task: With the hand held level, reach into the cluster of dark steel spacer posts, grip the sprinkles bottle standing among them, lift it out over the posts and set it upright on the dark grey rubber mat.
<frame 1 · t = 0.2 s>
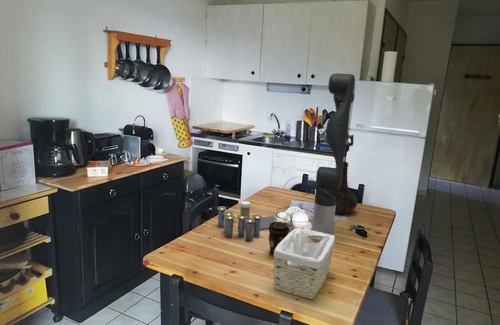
hand: (339, 150, 210), 31 cm above the table, tool tilted 20°, fingers open, 8 cm apart
rubber mat: (266, 223, 180), on the table
storage basket: (302, 280, 130), on the table
coffee cup: (276, 255, 148), on the table
sprinkles bottle: (244, 230, 171), on the table
spacer posts: (244, 229, 171), on the table
glass bottle: (339, 211, 203), on the table
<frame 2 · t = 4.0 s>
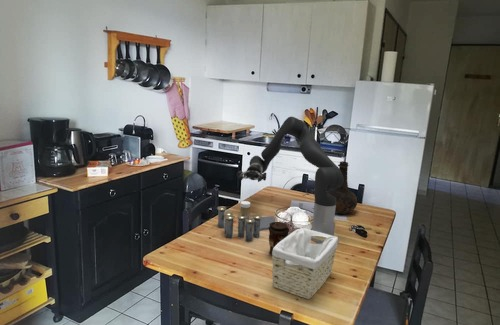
hand: (249, 179, 176), 22 cm above the table, tool horizontal, fingers open, 8 cm apart
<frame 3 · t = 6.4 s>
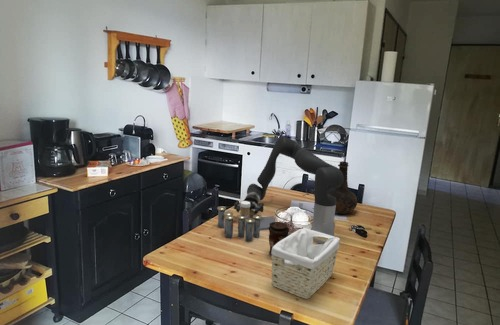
hand: (246, 211, 175), 7 cm above the table, tool horizontal, fingers open, 8 cm apart
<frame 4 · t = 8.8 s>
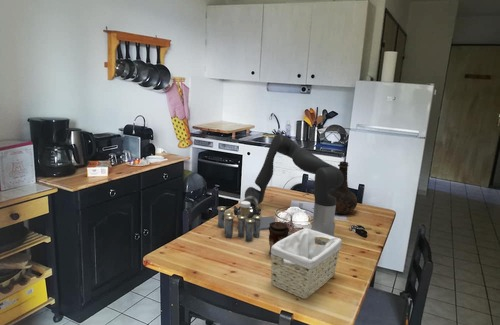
hand: (243, 217, 167), 7 cm above the table, tool horizontal, fingers closed on sprinkles bottle, 4 cm apart
sprinkles bottle: (244, 230, 171), on the table, touching gripper
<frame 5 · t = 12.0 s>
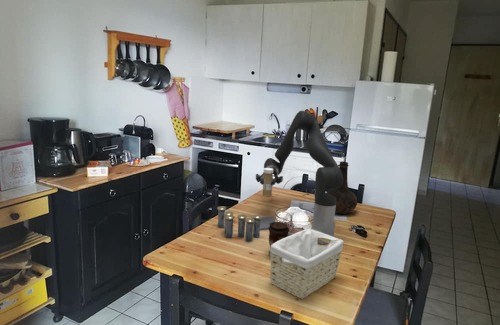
hand: (267, 182, 172), 22 cm above the table, tool horizontal, fingers closed on sprinkles bottle, 4 cm apart
sprinkles bottle: (266, 196, 176), point 14 cm above the table, touching gripper
when the fingers open (9 cm above the table, at t = 15.2 s): sprinkles bottle drops 1 cm, resting on rubber mat.
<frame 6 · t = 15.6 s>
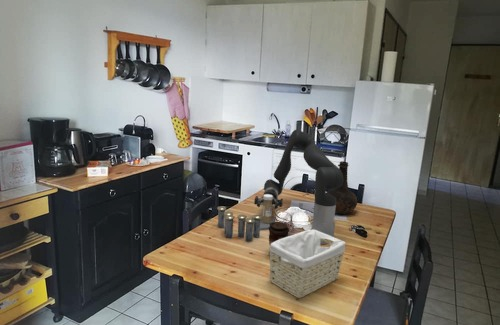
hand: (267, 206, 175), 10 cm above the table, tool horizontal, fingers open, 7 cm apart
sprinkles bottle: (266, 222, 179), point 1 cm above the table, touching rubber mat
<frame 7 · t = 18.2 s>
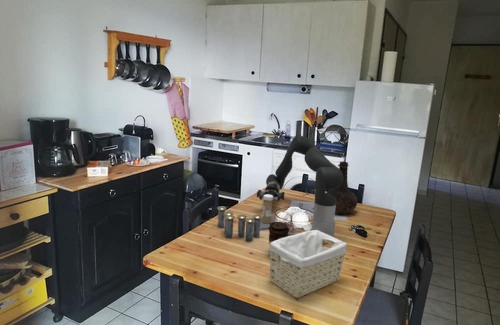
hand: (269, 198, 185), 10 cm above the table, tool horizontal, fingers open, 8 cm apart
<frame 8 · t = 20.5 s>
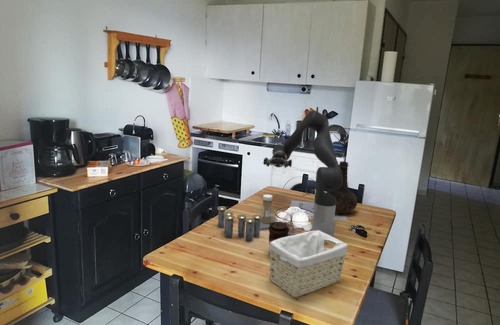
hand: (276, 165, 180), 28 cm above the table, tool horizontal, fingers open, 8 cm apart
at the end: sprinkles bottle inside the target area on the rubber mat (0.1 cm from its centre), point 0.8 cm above the rubber mat's base; sprinkles bottle tilted 1°; the gripper is holding nothing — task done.
